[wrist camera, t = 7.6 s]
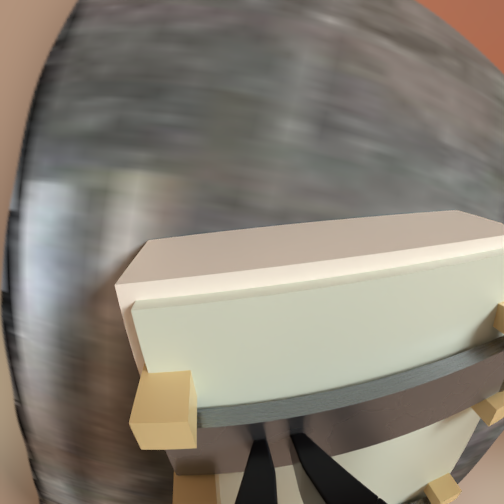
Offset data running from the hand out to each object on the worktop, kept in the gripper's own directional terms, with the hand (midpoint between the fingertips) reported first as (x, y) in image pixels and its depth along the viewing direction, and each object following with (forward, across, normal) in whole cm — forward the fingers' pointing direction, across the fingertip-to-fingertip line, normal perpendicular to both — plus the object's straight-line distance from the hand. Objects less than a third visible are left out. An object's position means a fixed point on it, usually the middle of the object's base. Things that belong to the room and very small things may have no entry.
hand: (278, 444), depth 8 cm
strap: (+1, -3, 0) cm, 4 cm away
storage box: (+6, -4, +6) cm, 10 cm away
